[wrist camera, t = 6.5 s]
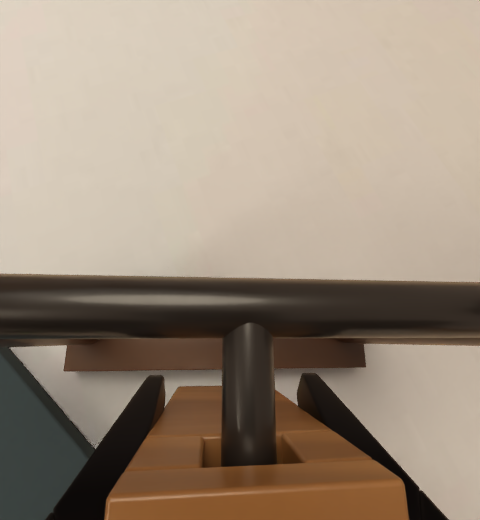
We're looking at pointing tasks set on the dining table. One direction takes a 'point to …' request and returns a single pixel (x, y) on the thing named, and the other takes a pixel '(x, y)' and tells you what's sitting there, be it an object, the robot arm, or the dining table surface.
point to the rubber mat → (34, 445)
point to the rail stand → (232, 331)
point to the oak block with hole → (250, 471)
